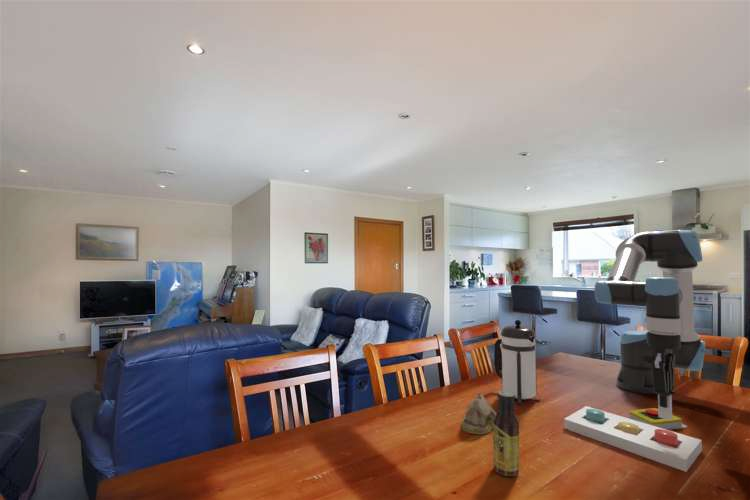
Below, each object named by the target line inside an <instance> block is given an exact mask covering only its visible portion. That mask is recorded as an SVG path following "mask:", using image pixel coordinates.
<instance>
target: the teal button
mask: <svg viewBox="0 0 750 500" xmlns="http://www.w3.org/2000/svg"><path fill="white" fill-rule="evenodd" d="M600 410H601V409H598V410H597V408H595V409H587V410H586V419H587V420H590V421H593V422H596V423H599V424H603V423H605V413H604V412H602V411H603V410H601V411H600Z"/></svg>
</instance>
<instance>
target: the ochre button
mask: <svg viewBox="0 0 750 500" xmlns="http://www.w3.org/2000/svg"><path fill="white" fill-rule="evenodd" d="M618 430H621V431H624V432H627V433H630V434H633V435H636V436H637V435H638V434H639V427H638V426H637V425H635V424H633V423H629V422H619V423H618Z"/></svg>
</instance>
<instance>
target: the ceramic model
mask: <svg viewBox="0 0 750 500" xmlns="http://www.w3.org/2000/svg"><path fill="white" fill-rule="evenodd" d="M496 414H497V412H496V411H495V409H494V408H493V407H492V405H491V404H490V403H489V401H488V400H487V399H486V397H484V395H483V394H482V393H477V396H476V398H475V399H474V400H473V401H471V402H469V403H468V406H467V408H466V410H465V416H464V418H463V419H462V423H461V428H463V429H462V430H463V432H465V431H466V432H465V433H468V432H469V434H474V435H486V434H489V433H490V432H491V431H492V430H493V422H494V420H495V417H496Z"/></svg>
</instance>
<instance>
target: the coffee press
mask: <svg viewBox="0 0 750 500" xmlns="http://www.w3.org/2000/svg"><path fill="white" fill-rule="evenodd" d="M514 324H515V325H506V326H504V327H503V328H502V330H501V331H500V336H501V338H499V339H497V340H496V341H495V343H494V348H493V351H494V352H493V353H494V355H493V357H494V370H495V373H496V375H497V376H498V377H499V378H500V379H501V384H502V388H501V389H500V390H499V391H510V392H513V393H514V394H515V399H517V405H519V406H521V405H523V403H522V401H523V400H529V399H532V398H534V399H535V400H536V401H537V402H539V401H540V400H541V396H540V395H539V393H538V391H537V390H538V389H537V387H538V386H537V384H538V383H537V362H536V358H537V346H536V338H537V333H536V332H535V331H534V329H532V328H531V327H529V326H526V325H525V326H524V325H521V324H522V321H521V320H519V319H516V320H514ZM500 345H501V346H500ZM500 347H501V350H500ZM500 351H501V355H500ZM500 356H501V369H500ZM536 395H537V397H538V398H536V397H535V396H536Z"/></svg>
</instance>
